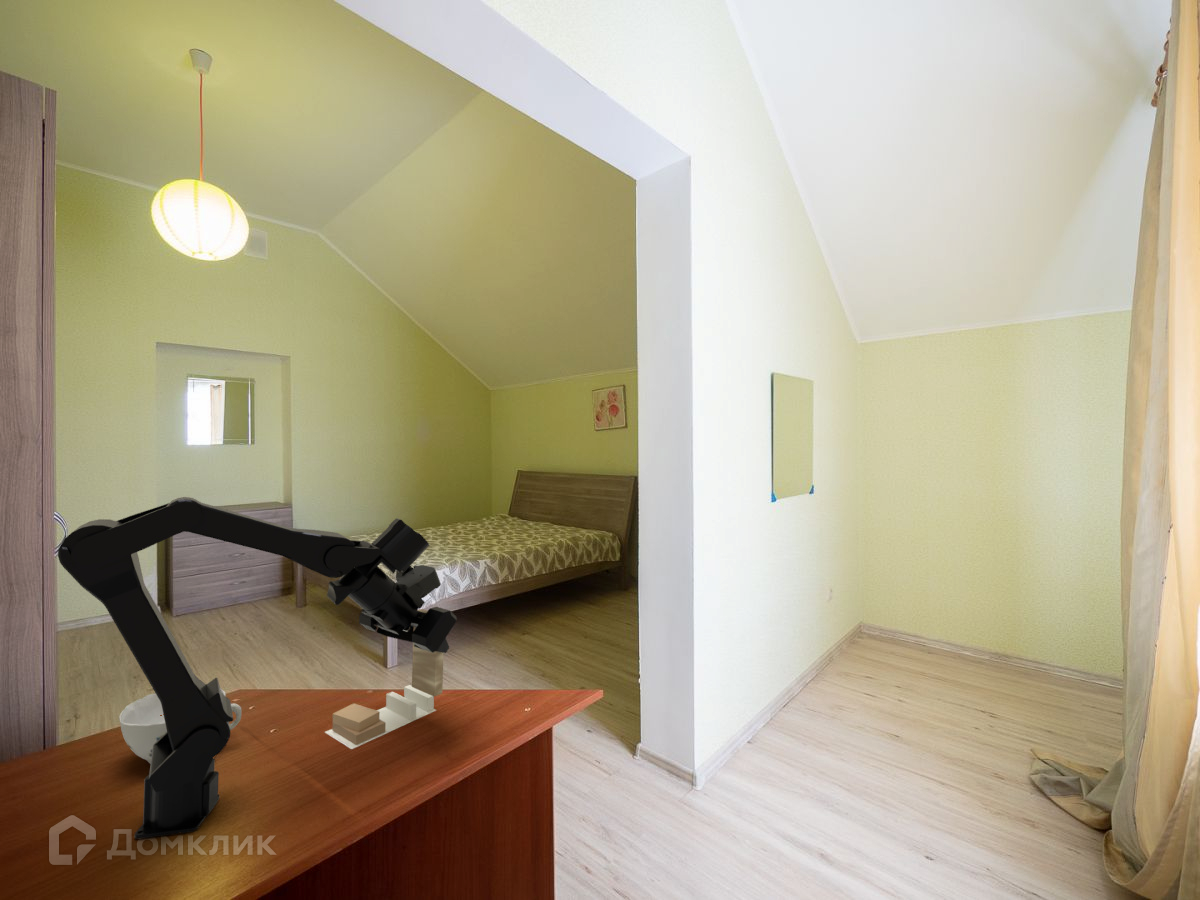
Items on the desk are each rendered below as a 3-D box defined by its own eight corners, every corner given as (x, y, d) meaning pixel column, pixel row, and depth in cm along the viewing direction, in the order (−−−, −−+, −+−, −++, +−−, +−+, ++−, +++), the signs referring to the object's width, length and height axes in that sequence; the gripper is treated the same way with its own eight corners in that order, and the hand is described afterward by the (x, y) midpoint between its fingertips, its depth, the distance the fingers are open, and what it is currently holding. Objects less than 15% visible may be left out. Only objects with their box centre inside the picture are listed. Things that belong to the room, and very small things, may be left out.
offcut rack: (351, 755, 80) (352, 729, 80) (324, 738, 85) (325, 713, 85) (436, 715, 93) (436, 693, 93) (408, 702, 98) (409, 680, 98)
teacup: (95, 786, 72) (97, 727, 72) (145, 738, 84) (147, 688, 84) (223, 770, 76) (225, 714, 76) (253, 726, 88) (255, 678, 88)
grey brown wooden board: (434, 696, 87) (436, 617, 87) (411, 686, 90) (414, 610, 90) (442, 693, 88) (444, 615, 88) (419, 683, 91) (421, 608, 91)
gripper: (448, 560, 81) (498, 615, 90) (377, 545, 91) (428, 596, 100) (402, 624, 74) (461, 676, 83) (331, 600, 85) (390, 649, 94)
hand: (434, 645), depth 90 cm, fingers closed on grey brown wooden board, 6 cm apart
